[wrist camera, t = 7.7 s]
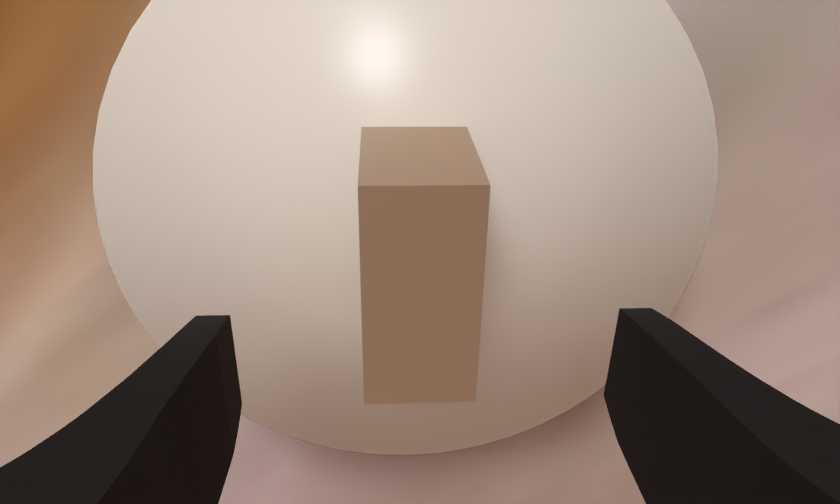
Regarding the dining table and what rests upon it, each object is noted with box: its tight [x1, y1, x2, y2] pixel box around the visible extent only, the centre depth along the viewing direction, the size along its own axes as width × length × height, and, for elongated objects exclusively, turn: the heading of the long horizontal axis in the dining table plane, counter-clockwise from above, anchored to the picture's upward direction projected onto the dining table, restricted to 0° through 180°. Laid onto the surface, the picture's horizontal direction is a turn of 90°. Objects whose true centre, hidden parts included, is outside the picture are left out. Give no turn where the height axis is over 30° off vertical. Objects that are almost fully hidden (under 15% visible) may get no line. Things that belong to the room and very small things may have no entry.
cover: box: [93, 0, 718, 455], centre depth 15 cm, size 15×15×4 cm
